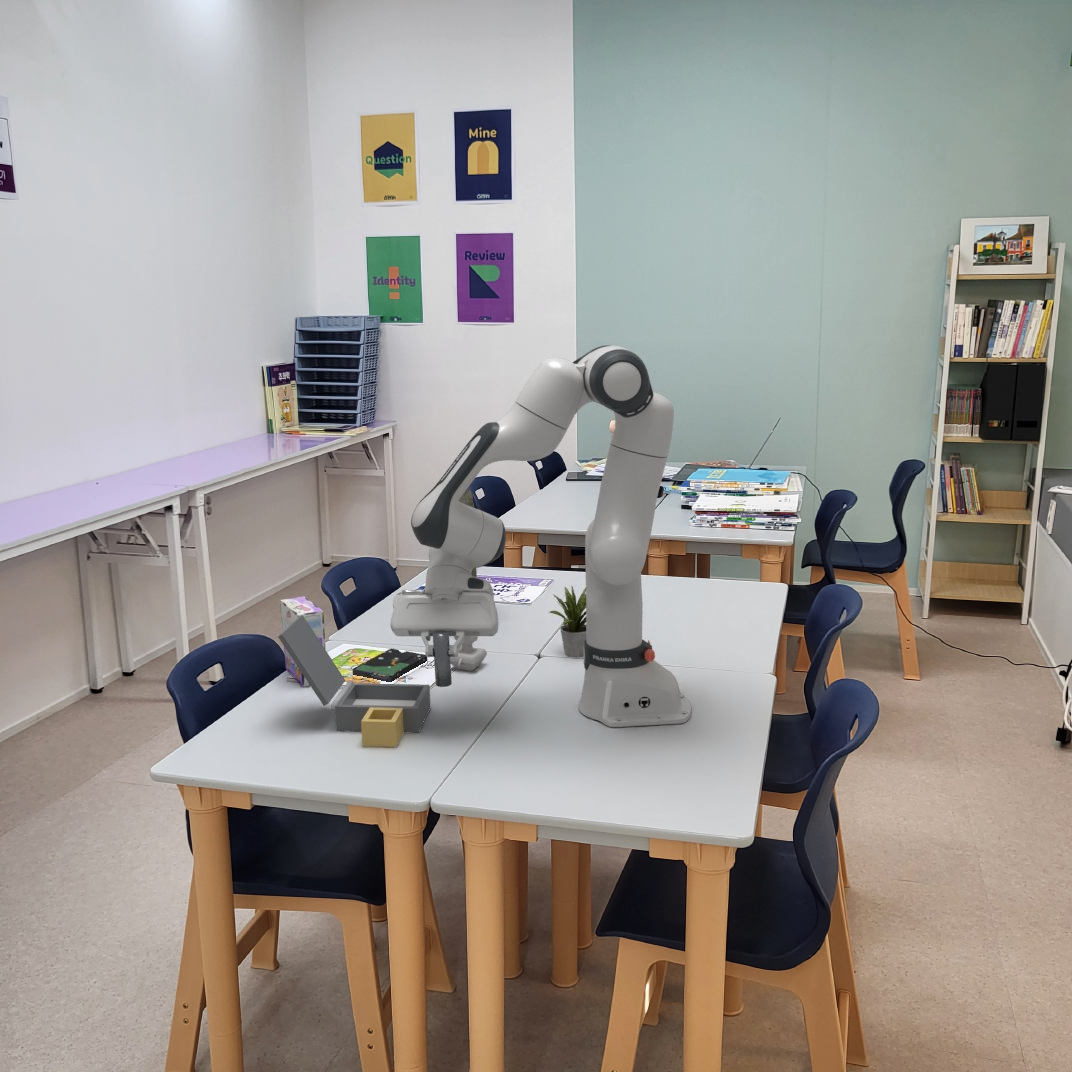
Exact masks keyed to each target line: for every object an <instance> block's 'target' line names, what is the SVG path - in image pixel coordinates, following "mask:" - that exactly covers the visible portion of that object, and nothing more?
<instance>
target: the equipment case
mask: <svg viewBox="0 0 1072 1072" xmlns="http://www.w3.org/2000/svg"><path fill="white" fill-rule="evenodd" d="M370 707H373V708H403V722H404V732H419V733H420V731H421V729H422V727H421V726H423V725H422V724H424V722H425V720H426V718H427V716H428V714H429V712H430V710H431V708H430V707H431V687H430V684H419V683H418V684H412V683H411V684H407V683H394V684H380V683H375V682H371V683H366V682H365V683H364V682H354V681H353V680H351V679H349V680H347V682H346V683H345V685H344V686H343V688H342V689H341V690H340V691H339V693H338V694H337V696H336V697H335V698H334V699H333V701H332V703H330V709H332V710H334V712H335V727H336V728H335V729H336V731H337V732H362V729H361V721H362V719H363V717H364V716H365V714H366V713H367V711H368V710H369V708H370ZM429 709H430V710H429ZM428 711H429V712H428ZM427 713H428V714H427ZM426 715H427V716H426ZM425 717H426V718H425ZM424 719H425V720H424ZM423 721H424V722H423ZM420 728H421V729H420ZM419 730H420V731H419Z"/></svg>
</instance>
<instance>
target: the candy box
mask: <svg viewBox="0 0 1072 1072" xmlns="http://www.w3.org/2000/svg"><path fill="white" fill-rule="evenodd" d="M279 603H280V605H279V606H280V615H281V626H282V633H283V632H284V631H285V630H286V629H287V628H288V627H289V626H290V625H291V624H292V623H293V622H294V621H295V620H296V619H297V618H298V617H299V616H301V615H303V616H304V618H305V619H306V621H307V622H308V624H309V625H310V627H311V629H312V630H313V632H314V633H315V635H316V636H317V638H318V639H319V641H320V642H321V644H322V645H323V647H324V648H325V650H326V634H325V633H326V632H325V619H324V618H325V616H324V610H322V609H321V608H320V607H318V606H317V605H315V604H314V603H313V602H312V601H311V600H309V599H308V598H307V597H305V596H296V597H291V598H285V599H280V600H279ZM283 652H284V662H285V663H284V664H285V670H287V672H288V673H289V674H290V673H291V674H292V675H293V676H294V677H295V678H296V679H297V680H296V679H295V678H294V677H293V676H292V675H291V674H290V675H291V676H292V677H293V678H294V679H295V680H296V681H297V682H298V683H299V684H300V685H301V686H302V687H303V688H305V687H311V686H310V684H309V683H308V681H307V680H306V678H305V677H304V675H303V674H302V672H301V671H300V669H299V668H298V666H297V665H296V663H295V662H294V660H293V659H292V657H291V656H290V654H289V653H288V651H287V650H286V648H285V647H284V646H283Z"/></svg>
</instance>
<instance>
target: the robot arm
mask: <svg viewBox="0 0 1072 1072" xmlns="http://www.w3.org/2000/svg"><path fill="white" fill-rule="evenodd" d="M592 402H593V403H597V404H599V405H601V406H603V407H605V408H607V409H608V410H610V411H612V412H614V413H613V414H614V419H615V421H614V431H613V433H612V436H611V441H610V445H609V448H608V453H607V457H606V461H605V465H604V469H603V472H602V473H603V474H602V478H601V482H600V488H599V494H598V499H597V505H596V510H595V514H594V519H593V520H592V521H591V522H590V524H589V525H588V527H587V529H586V531H585V537H584V538H585V540H584V544H585V545H584V547H585V548H584V550H585V551H584V554H585V557H584V558H585V588H586V592H585V594H586V608H585V611H586V615H585V617H586V623H585V625H586V640H585V642H584V651H583V654H584V655H583V667H584V680H583V684H582V691H581V696H580V699H579V701H578V705H577V708H578V711H579V712H580V713H581V714H582V715H584V716H585V717H588V718H589V719H592V720H596V721H599V722H601V723H602V724H604V725H605V726H607V727H609V728H620V727H621V728H622V727H623V728H624V727H638V726H640V727H641V726H657V725H659V726H660V725H676V724H677V725H679V724H684V723H686V722H687V721H689V719H690V718H691V716H692V705H691V702H690V700H689V698H688V697H687V696H686V695H685V694H684V693H682V692H681V690H680V686H679V683H678V680H677V678H676V676H675V675H674V674H673V673H672V672H671V671H670V670H668V669H667V668H665V667H664V666H662V665H661V664H660V663H659V662H657V661H656V660H655V659H656V654H655V651H654V650H653V645H652V644H651V642H650V640H648V639H647V641H646V640H644V639H643V608H644V607H643V603H644V601H643V589H642V588H643V587H642V571H643V568H644V566H645V563H646V559H647V555H648V550H649V546H650V545H649V544H650V539H651V536H652V535H651V534H652V531H653V526H654V525H653V524H654V519H655V512H656V506H657V501H658V500H657V499H658V496H659V493H660V492H659V490H660V489H661V488H660V487H661V483H662V479H663V476H664V473H665V468H666V465H667V460H668V457H669V453H670V447H671V441H672V436H673V431H674V430H673V428H674V416H675V415H674V414H675V411H674V406H673V404H672V402H671V401H670V400H669V399H668V398H667V397H665V396H664V395H662V394H660V393H657V391H656V392H655V391H653V387H652V384H651V380H650V376H649V372H648V369H647V367H646V364H645V362H644V360H642V359H641V358H640V357H639V355H637V354H636V353H634V352H632V351H631V350H630V349H628V348H625V347H623V346H620V345H610V344H607V345H600V346H597V347H595V348H593V349H591V350H589V351H588V352H586V353H585V354H584V355H581V356H580V357H579V358H577V359H576V360H574V361H571V360H567V359H565V358H561V357H549V358H547V359H545V360H543V361H542V362H541V363H540V364H539V365H538V367H537V368H536V369H535V370H534V372H533V373H532V374H531V376H530V377H529V378H528V380H527V382H525V384H524V386H523V387H522V389H521V391H520V392H519V394H518V396H517V397H516V399H515V401H514V403H513V404H512V406H511V408H509V410H508V411H507V412H506V413H505V414H504V415H503V416H501V417H500V418H499V419H498V420H496V421H493V422H486V423H485V424H483V425H482V426H481V427H480V428H479V429H478V431H477V432H475V434H474V435H473V436H472V437H471V439H470V440H469V441H468V442H467V443H466V445H465V446H464V447H463V449H462V450H461V451H460V452H459V454H458V455H457V457H456V458H455V459H454V461H453V462H452V463H451V464H450V465H449V467H448V468H447V470H446V471H445V473H444V474H443V475H442V476H441V478H440V479H439V480H438V481H437V483H436V484H435V485H434V486H433V488H431V490H429V491H428V493H427V494H425V496H424V497H422V499H421V500H420V501H419V502H418V504H416V507H415V509H414V510H413V512H412V515H411V520H410V526H411V529H412V532H413V535H414V536H415V539H417V541H418V542H419V544H420V545H422V546H426V547H429V548H428V549H429V551H428V558H429V566H428V568H427V570H426V576H425V577H426V578H425V583H424V589H412V590H411V589H402V590H401V591H400V592H398V593H396V594H395V595H394V597H393V601H392V602H393V603H392V607H393V611H392V613H391V614H392V615H391V618H390V630H391V631H392V633H393V635H395V636H396V637H421V640H422V642H423V644H424V645H425V650H424V653H425V654H424V655H426V657H427V658H434V648H433V644H430V643H429V642H430V641H431V637H433V632H436V631H448V632H449V637H454V636H457V640H455V641H454V643H453V644H450V645H449V649H450V650H449V656H450V657H458V649H459V648H460V647H461V646H462V644H463V643H464V642H465V636H478V637H495V636H496V634H497V633H498V631H499V615H498V610H497V606H496V602H495V595H494V589H493V587H492V584H491V582H490V581H489V580H487V579H484V578H480V577H478V576H477V577H473V576H472V574H471V572H472V570H473V568H475V567H476V569H479V568H481V567H484V566H486V565H489V564H490V563H493V562H494V561H496V560H497V559H499V558H500V557H501V556H502V554H503V552H504V549H505V547H506V543H507V533H506V527H505V524H504V522H503V521H502V520H501V519H500V518H498V517H497V516H495V515H492V514H490V513H487V512H485V511H483V510H481V509H479V510H477V509H478V508H476V507H475V508H476V509H475V508H473V507H470V506H468V505H466V504H463V503H461V502H459V501H458V500H459V499H460V497H461V496H462V495H463V493H464V492H465V491H466V489H468V488H469V487H470V485H471V484H472V483H473V481H475V478H476V477H478V475H479V474H480V473H481V471H482V470H483V469H484V468H486V467H487V466H488V465H491V464H493V463H496V462H503V461H516V462H517V461H518V462H531V461H537V460H541V459H543V458H546V457H548V456H550V455H551V454H553V452H554V451H556V449H557V448H558V446H559V445H561V442H562V441H563V439H564V437H565V435H566V433H567V432H568V430H569V428H570V426H571V424H572V421H573V419H574V417H575V415H576V414H577V413H578V412H579V410H581V408H582V407H584V406H585V405H587V404H588V403H592Z"/></svg>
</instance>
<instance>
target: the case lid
mask: <svg viewBox="0 0 1072 1072" xmlns="http://www.w3.org/2000/svg"><path fill="white" fill-rule="evenodd" d="M277 637H278V640H279V641H280V642H281V645H283V648H284V647H285V648H286V650H287V651H288V653H289V654H290V656H291V657H292V659H293V660H294V662H295V663H296V665H297V666H298V668H299V669H300V671H301V672H302V674H303V675H304V677H305V678H306V680H307V681H308V683H309V684H310V686H309V687H310V688H311V689H312V691H313V692H314V694H315V695H316V697H317V698H318V700H319V701H320V703H321V705H323V707H326V706H327V705H329V703H330V702H331V701H332V699H333V698H334V697H335V695H336V694H337V693H338V691H339V690H340V689H341V687H342V686H343V685H344V683H345V681H346V679H345V677H344V676H343V675H342V673H341V672H340V670H339V669H338V667H337V666H336V664H335V662H334V661H333V659H332V658H331V656H330V655H329V653H328V652H327V650H326V649H325V648H326V647H325V648H324V647H323V645H322V644H321V642H320V641H319V639H318V638H317V636H316V635H315V633H314V632H313V630H312V629H311V627H310V625H309V624H308V622H307V621H306V619H305V618H304V616H303V615H301V616H299V617H298V618H297V619H296V620H295V621H294V622H293V623H292V624H291V625H290V626H289V627H288V628H287V629H286V630H285V631H284V632H283V631H282V632H281V633H280V634H279V635H278V636H277Z"/></svg>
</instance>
